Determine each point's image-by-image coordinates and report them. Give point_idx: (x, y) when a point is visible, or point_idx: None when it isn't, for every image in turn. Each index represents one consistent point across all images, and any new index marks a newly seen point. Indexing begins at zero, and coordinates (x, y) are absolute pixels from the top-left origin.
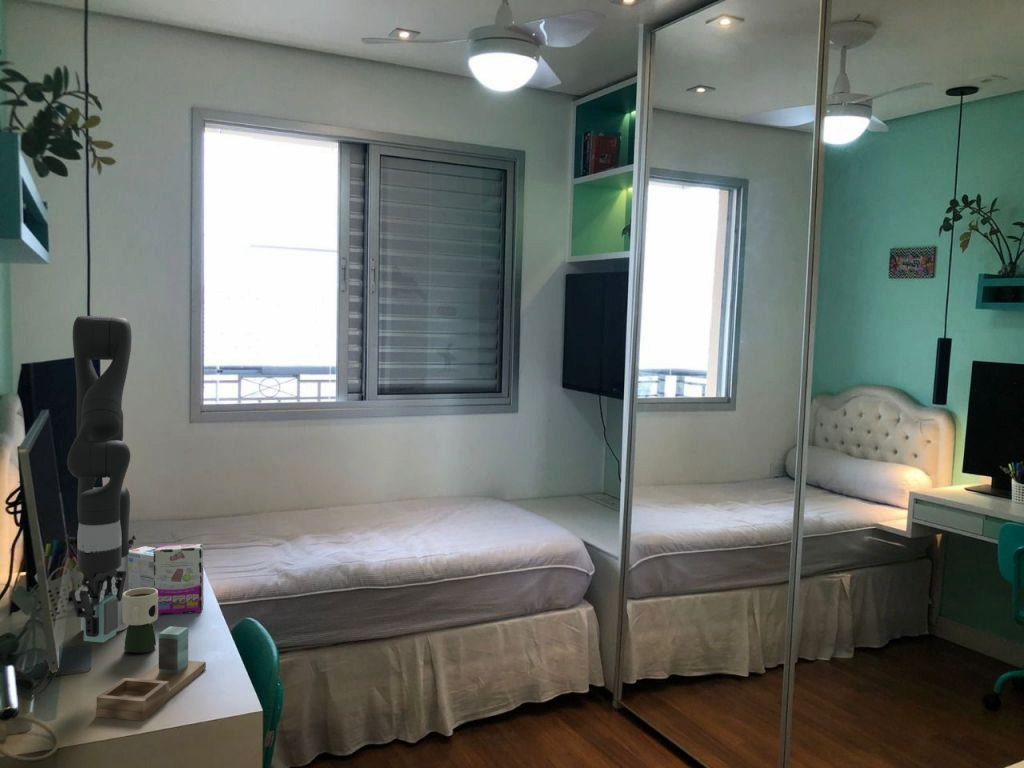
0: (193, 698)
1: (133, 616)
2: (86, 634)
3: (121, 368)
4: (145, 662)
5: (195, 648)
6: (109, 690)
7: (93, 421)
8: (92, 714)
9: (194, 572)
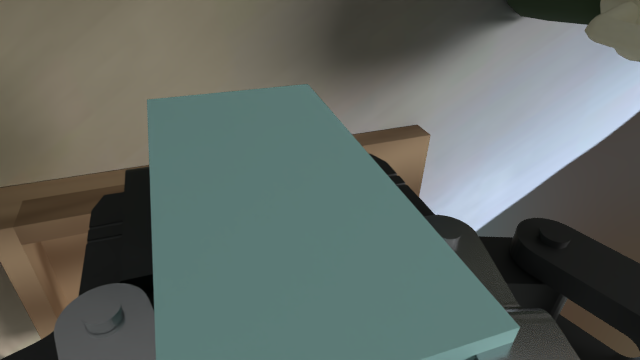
0: None
1: (616, 33)
2: (127, 171)
3: None
4: (443, 46)
5: (531, 124)
6: (68, 228)
7: None
8: (8, 163)
9: None
